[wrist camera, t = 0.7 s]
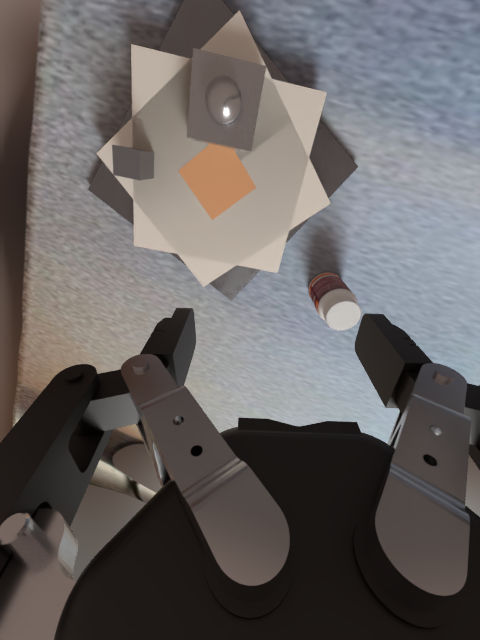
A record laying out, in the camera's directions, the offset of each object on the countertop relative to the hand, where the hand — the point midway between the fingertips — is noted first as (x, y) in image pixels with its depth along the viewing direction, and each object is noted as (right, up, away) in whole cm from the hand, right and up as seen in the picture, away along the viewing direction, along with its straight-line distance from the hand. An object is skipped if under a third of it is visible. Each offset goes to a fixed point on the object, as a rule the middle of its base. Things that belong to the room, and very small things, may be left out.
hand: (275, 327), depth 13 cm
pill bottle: (+10, +5, +25) cm, 28 cm away
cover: (-3, +21, +13) cm, 24 cm away
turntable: (-4, +16, +17) cm, 24 cm away
